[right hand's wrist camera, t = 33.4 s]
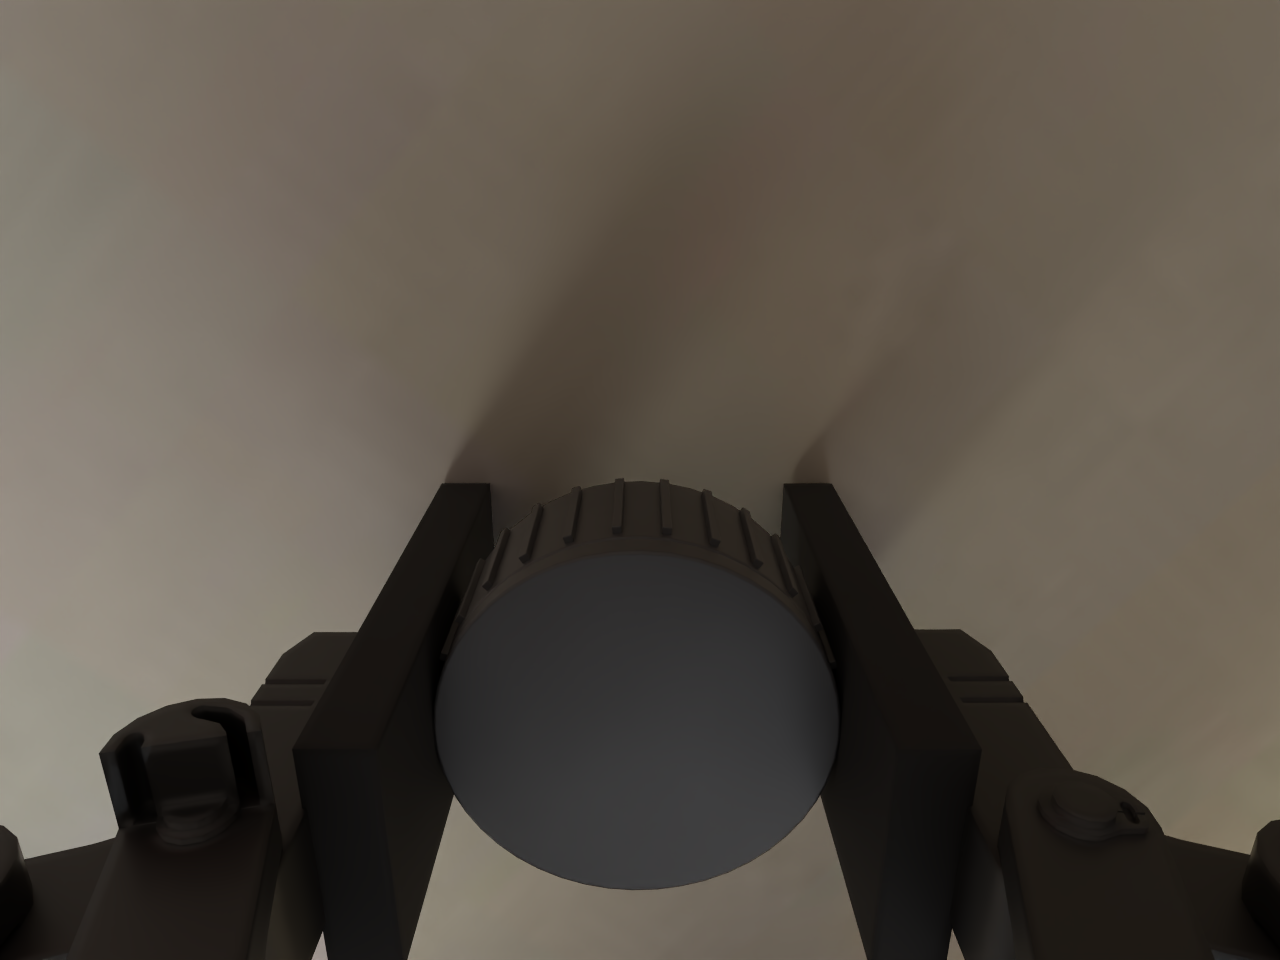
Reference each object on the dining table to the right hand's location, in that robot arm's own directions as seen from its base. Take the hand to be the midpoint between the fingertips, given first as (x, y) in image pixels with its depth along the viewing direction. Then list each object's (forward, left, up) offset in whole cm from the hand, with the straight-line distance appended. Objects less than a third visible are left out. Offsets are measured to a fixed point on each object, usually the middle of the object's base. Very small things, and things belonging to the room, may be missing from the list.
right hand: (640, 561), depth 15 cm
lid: (0, 0, +4) cm, 4 cm away
